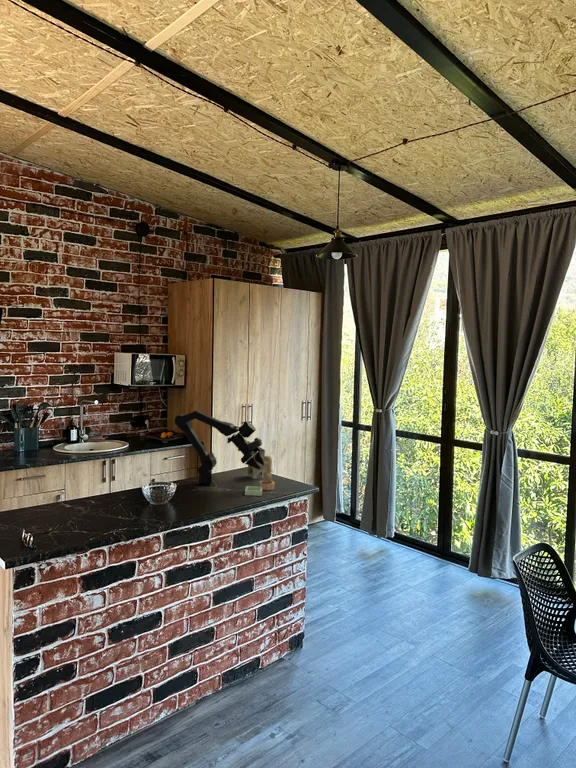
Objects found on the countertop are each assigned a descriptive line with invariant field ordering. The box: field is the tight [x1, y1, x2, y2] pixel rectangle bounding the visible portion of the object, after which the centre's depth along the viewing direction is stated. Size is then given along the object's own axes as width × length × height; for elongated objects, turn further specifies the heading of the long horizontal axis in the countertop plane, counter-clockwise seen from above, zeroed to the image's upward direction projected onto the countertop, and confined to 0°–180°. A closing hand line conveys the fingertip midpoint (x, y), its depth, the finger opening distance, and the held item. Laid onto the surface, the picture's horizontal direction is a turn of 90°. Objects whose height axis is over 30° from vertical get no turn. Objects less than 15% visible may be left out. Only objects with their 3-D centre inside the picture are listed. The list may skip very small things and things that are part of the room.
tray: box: [244, 485, 263, 497], centre depth 260 cm, size 8×8×3 cm
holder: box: [258, 479, 276, 491], centre depth 269 cm, size 8×8×4 cm
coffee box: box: [247, 447, 266, 480], centre depth 291 cm, size 9×6×16 cm
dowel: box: [262, 455, 273, 484], centre depth 269 cm, size 4×4×16 cm
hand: (262, 466), depth 269 cm, fingers open, 9 cm apart
